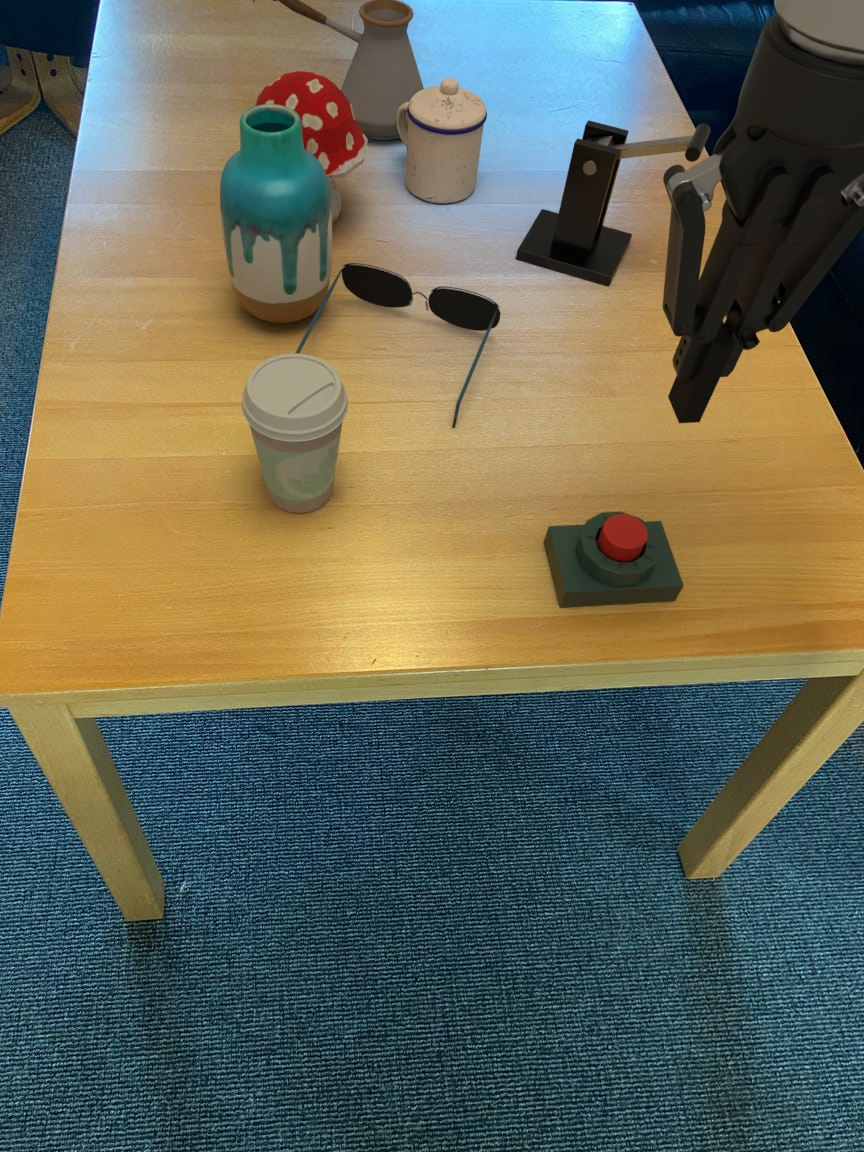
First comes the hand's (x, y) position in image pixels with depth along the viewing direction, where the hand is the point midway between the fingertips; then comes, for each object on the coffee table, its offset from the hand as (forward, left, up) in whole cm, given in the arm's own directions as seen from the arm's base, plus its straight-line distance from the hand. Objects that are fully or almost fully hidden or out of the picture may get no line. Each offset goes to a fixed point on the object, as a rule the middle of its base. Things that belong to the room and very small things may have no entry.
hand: (683, 409), depth 60 cm
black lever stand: (+16, -41, -17) cm, 47 cm away
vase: (+41, -17, -17) cm, 48 cm away
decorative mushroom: (+46, -33, -17) cm, 59 cm away
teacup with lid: (+36, -47, -17) cm, 62 cm away
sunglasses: (+27, -15, -17) cm, 36 cm away
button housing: (0, +2, -17) cm, 17 cm away
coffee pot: (+51, -54, -17) cm, 77 cm away
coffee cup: (+28, +5, -17) cm, 34 cm away
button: (0, +2, -13) cm, 13 cm away
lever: (+12, -41, -5) cm, 43 cm away
